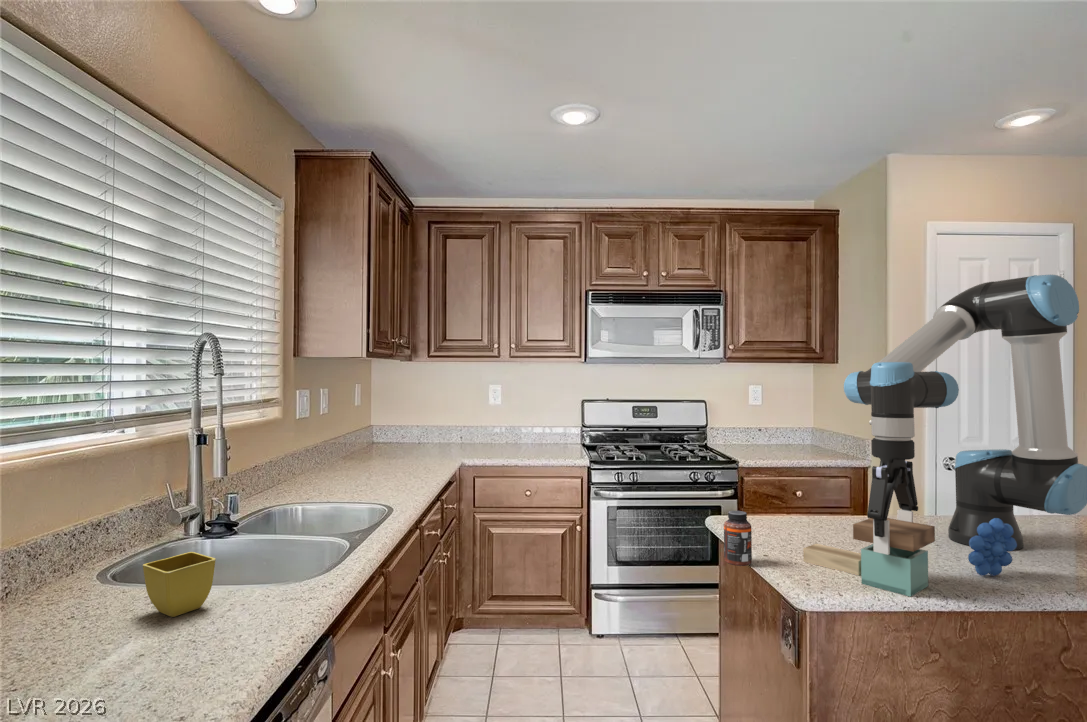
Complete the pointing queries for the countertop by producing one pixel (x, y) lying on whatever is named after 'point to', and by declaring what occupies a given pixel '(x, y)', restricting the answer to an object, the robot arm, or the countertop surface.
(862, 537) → the lid
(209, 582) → the flower pot
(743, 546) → the supplement bottle
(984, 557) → the grapes
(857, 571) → the wooden block
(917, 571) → the teal open box
